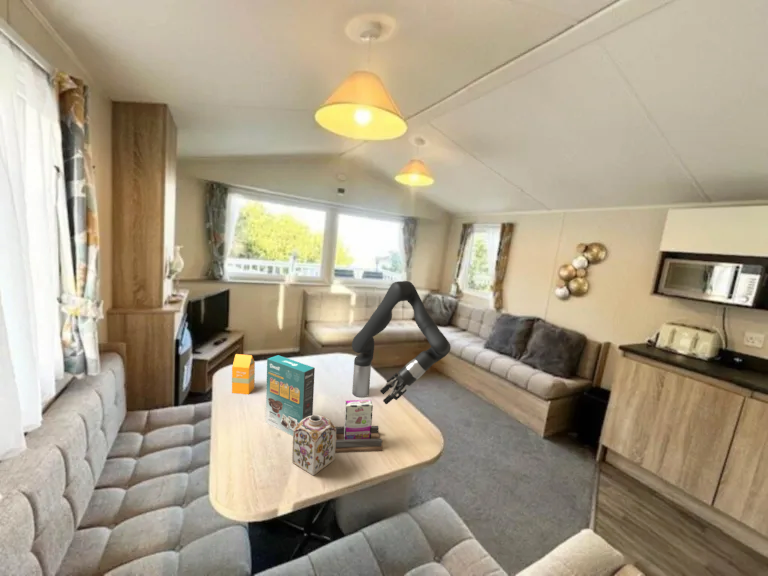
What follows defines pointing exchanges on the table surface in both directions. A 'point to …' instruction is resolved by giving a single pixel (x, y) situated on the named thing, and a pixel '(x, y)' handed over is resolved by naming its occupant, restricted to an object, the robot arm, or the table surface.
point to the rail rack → (358, 442)
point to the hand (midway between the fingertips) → (382, 397)
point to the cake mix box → (288, 393)
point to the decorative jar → (314, 443)
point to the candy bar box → (358, 419)
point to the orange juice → (243, 374)
